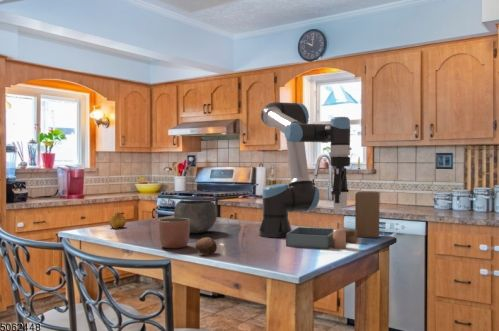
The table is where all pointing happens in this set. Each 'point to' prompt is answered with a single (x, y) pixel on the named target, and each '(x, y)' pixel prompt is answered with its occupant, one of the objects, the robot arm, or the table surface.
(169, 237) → the planter
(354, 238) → the walnut cube
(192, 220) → the bowl
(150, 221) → the table surface
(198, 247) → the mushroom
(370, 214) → the wooden block
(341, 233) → the peach colored egg
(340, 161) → the robot arm
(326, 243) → the tote
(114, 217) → the fruit
